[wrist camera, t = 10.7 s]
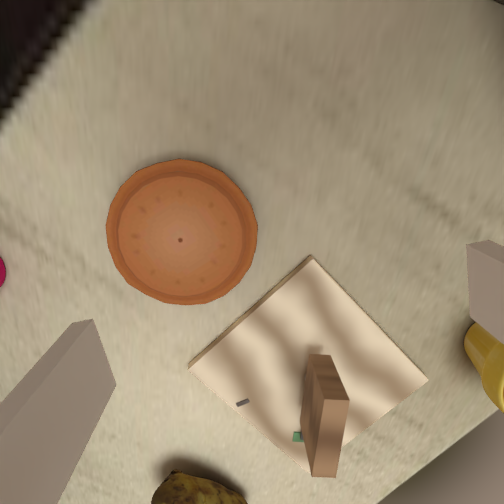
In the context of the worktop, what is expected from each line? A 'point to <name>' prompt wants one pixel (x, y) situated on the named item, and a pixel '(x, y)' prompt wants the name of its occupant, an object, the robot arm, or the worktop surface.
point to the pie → (181, 232)
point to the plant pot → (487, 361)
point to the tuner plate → (305, 359)
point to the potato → (193, 491)
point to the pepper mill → (2, 272)
